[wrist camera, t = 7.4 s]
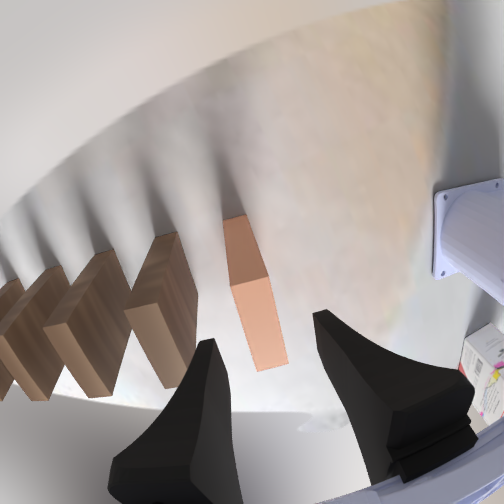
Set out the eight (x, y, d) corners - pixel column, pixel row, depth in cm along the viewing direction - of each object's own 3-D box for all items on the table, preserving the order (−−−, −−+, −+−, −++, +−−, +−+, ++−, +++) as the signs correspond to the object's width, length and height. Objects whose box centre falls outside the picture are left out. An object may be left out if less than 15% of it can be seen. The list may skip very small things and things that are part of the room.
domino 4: (177, 231, 21) (157, 302, 13) (198, 294, 23) (194, 384, 15) (155, 237, 21) (123, 310, 13) (177, 299, 23) (165, 389, 15)
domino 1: (18, 278, 21) (-39, 343, 12) (45, 328, 23) (2, 401, 14) (7, 282, 21) (-50, 344, 12) (32, 330, 23) (-10, 400, 14)
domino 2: (61, 264, 21) (3, 335, 12) (87, 319, 23) (48, 400, 14) (45, 269, 21) (-13, 338, 12) (72, 322, 23) (31, 401, 14)
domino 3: (113, 249, 21) (66, 322, 13) (138, 308, 23) (112, 396, 15) (94, 254, 21) (42, 327, 13) (120, 312, 23) (88, 398, 15)
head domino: (246, 214, 21) (268, 276, 13) (262, 279, 23) (288, 363, 15) (222, 220, 21) (230, 286, 13) (240, 284, 23) (257, 371, 15)
